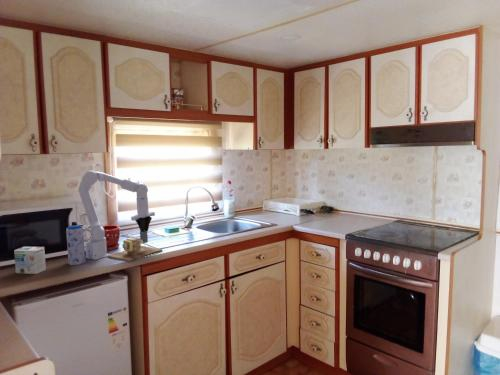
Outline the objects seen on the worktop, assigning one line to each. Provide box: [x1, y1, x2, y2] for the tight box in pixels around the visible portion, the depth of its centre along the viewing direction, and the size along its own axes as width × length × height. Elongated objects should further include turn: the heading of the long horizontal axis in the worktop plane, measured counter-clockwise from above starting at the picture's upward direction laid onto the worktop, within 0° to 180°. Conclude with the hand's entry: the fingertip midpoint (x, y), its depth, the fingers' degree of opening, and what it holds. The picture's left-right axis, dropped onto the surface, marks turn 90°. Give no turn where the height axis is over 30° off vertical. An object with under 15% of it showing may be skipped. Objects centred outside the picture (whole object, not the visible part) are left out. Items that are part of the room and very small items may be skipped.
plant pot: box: [102, 224, 121, 251], centre depth 215 cm, size 13×13×12 cm
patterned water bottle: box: [65, 221, 87, 266], centre depth 191 cm, size 8×8×20 cm
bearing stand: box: [107, 236, 163, 263], centre depth 203 cm, size 22×16×8 cm
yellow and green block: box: [121, 230, 149, 249], centre depth 203 cm, size 14×3×6 cm, turn 147°
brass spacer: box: [122, 239, 133, 251], centre depth 199 cm, size 2×5×5 cm, turn 57°
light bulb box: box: [13, 246, 47, 275], centre depth 179 cm, size 11×7×11 cm, turn 81°
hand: (144, 231), depth 208 cm, fingers open, 2 cm apart
